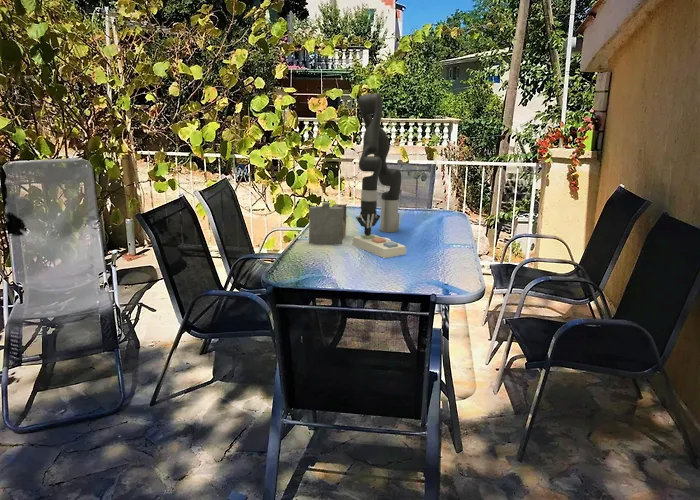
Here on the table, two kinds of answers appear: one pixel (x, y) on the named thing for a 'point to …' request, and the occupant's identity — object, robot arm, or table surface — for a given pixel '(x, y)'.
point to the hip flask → (325, 224)
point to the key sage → (367, 236)
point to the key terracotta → (378, 240)
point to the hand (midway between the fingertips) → (367, 235)
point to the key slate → (390, 244)
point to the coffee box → (343, 219)
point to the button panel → (379, 247)
